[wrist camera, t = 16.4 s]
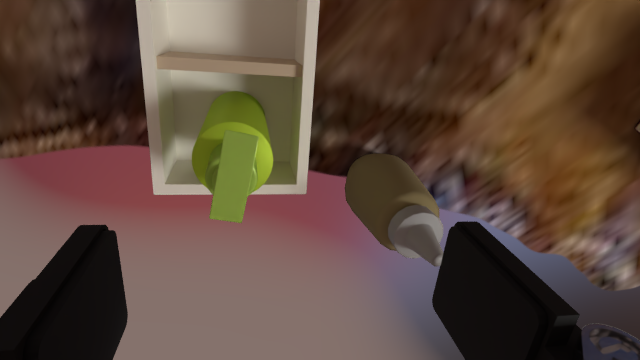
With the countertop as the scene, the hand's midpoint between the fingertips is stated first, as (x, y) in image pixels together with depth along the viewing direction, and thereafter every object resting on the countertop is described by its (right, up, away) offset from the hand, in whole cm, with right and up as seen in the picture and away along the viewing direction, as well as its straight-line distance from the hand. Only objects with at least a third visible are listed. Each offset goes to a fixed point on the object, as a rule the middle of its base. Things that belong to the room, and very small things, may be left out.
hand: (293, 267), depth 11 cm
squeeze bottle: (+7, +3, +35) cm, 36 cm away
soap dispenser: (-8, +9, +29) cm, 32 cm away
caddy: (-8, +15, +27) cm, 32 cm away
